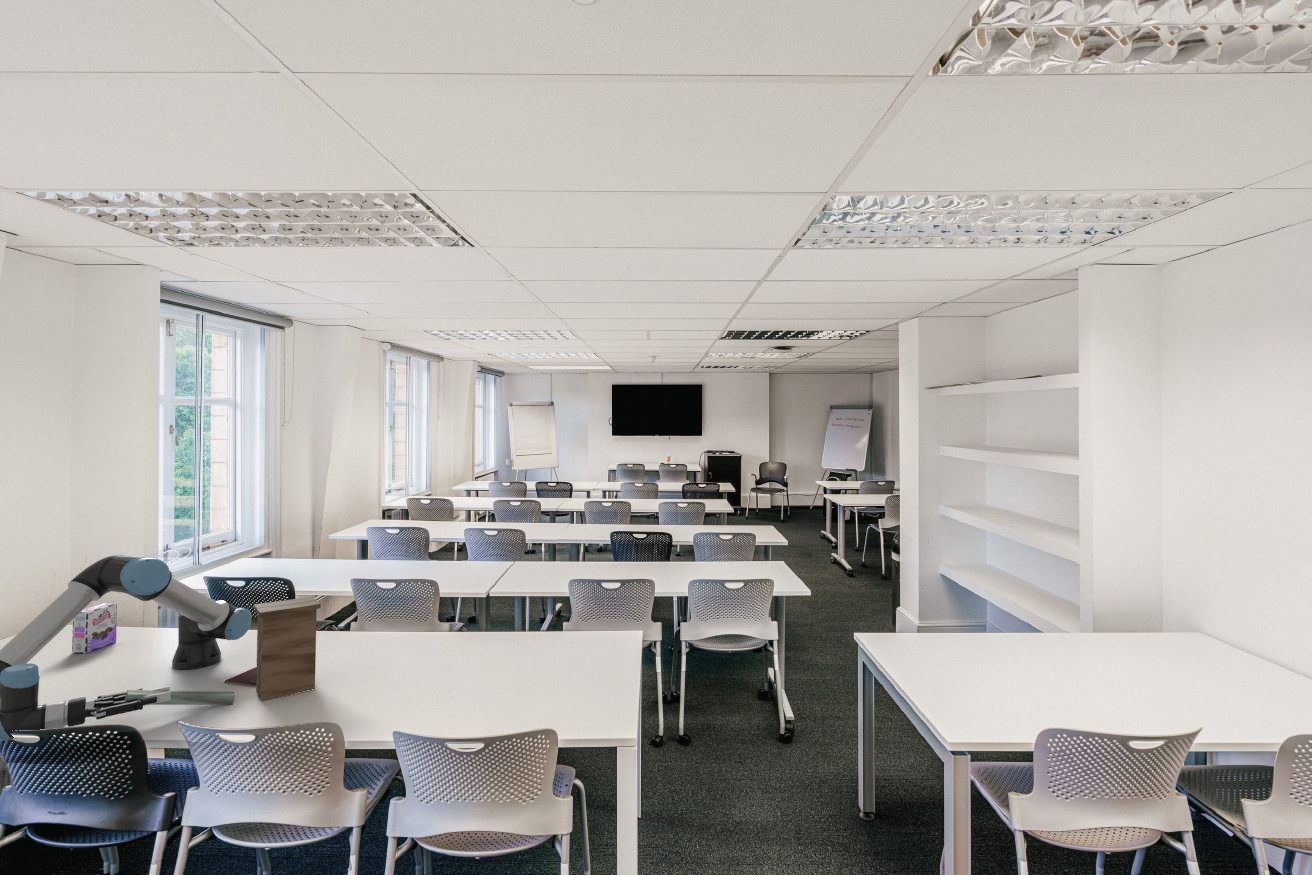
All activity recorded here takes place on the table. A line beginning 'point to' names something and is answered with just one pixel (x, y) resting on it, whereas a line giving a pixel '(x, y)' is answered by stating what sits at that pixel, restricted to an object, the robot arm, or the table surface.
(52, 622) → the robot arm
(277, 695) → the stand
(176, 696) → the slat
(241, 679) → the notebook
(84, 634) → the candy box
